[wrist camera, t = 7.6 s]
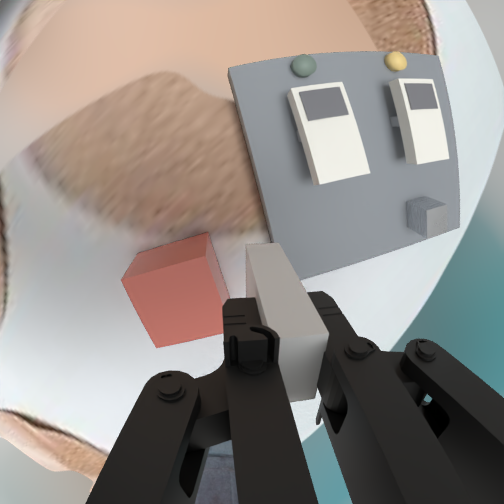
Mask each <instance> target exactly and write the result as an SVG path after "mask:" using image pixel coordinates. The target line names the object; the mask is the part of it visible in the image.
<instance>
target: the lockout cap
mask: <svg viewBox="0 0 504 504" xmlns="http://www.w3.org/2000/svg"><path fill="white" fill-rule="evenodd" d="M121 281H122V283H123V285H124V288H125V290H126V292H127V294H128V296H129V298H130V300H131V302H132V304H133V306H134V308H135V310H136V312H137V314H138V316H139V317H140V319H141V321H142V323H143V325H144V327H145V329H146V331H147V332H148V334H149V336H150V338H151V340H152V341H153V343H154V345H155V347H156V348H159V347H164V346H169V345H174V344H179V343H183V342H188V341H192V340H197V339H201V338H205V337H209V336H214V335H218V334H222V333H223V316H222V306H223V305H224V303H225V302H226V300H227V299H230V296H229V293H228V290H227V288H226V285H225V282H224V279H223V276H222V273H221V270H220V267H219V264H218V261H217V258H216V255H215V252H214V249H213V246H212V243H211V240H210V237H209V234H208V232H207V233H203V234H200V235H196V236H193V237H190V238H186V239H183V240H180V241H176V242H173V243H170V244H166V245H163V246H160V247H156V248H153V249H150V250H147V251H144V252H140V253H138V254H137V255H136V257H135V259H134V260H133V262H132V263H131V265H130V266H129V268H128V269H127V271H126V273H125V274H124V276H123V277H122V279H121Z"/></svg>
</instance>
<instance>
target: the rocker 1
mask: <svg viewBox="0 0 504 504" xmlns="http://www.w3.org/2000/svg"><path fill="white" fill-rule="evenodd" d="M287 97H288V100H289V103H290V106H291V109H292V112H293V115H294V119H295V122H296V125H297V128H298V132H299V135H300V138H301V142H302V145H303V148H304V152H305V155H306V159H307V163H308V166H309V170H310V173H311V177H312V181H313V185H314V186H315V185H320V184H325V183H329V182H333V181H337V180H342V179H346V178H351V177H355V176H360V175H364V174H369V173H370V169H369V166H368V162H367V158H366V154H365V151H364V147H363V143H362V140H361V137H360V133H359V130H358V127H357V123H356V120H355V117H354V114H353V111H352V108H351V105H350V102H349V99H348V96H347V94H346V91H345V88H344V85H343V83H342V82H334V83H325V84H316V85H309V86H302V87H295V88H291V89H290V91H289V93H288V95H287Z"/></svg>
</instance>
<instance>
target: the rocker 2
mask: <svg viewBox="0 0 504 504" xmlns="http://www.w3.org/2000/svg"><path fill="white" fill-rule="evenodd" d="M389 86H390V89H391V93H392V97H393V100H394V104H395V108H396V112H397V117H398V121H399V126H400V130H401V135H402V140H403V145H404V151H405V157H406V163H408V164H423V163H428V162H434V161H439V160H445V159H449V152H448V146H447V140H446V134H445V129H444V123H443V118H442V114H441V109H440V105H439V101H438V97H437V93H436V89H435V85H434V82H433V79H396V80H393V81H390V82H389Z"/></svg>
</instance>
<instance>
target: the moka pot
mask: <svg viewBox="0 0 504 504" xmlns="http://www.w3.org/2000/svg"><path fill="white" fill-rule="evenodd" d="M195 504H239V503H238V495H237V487H236V478H235V469H234V460H233V450H232V440H229V441H226V442H223V443H220V444H217V445H214V446H211V447H210V449H209V453H208V456H207V460H206V464H205V467H204V471H203V475H202V479H201V482H200V486H199V490H198V493H197V497H196V501H195Z"/></svg>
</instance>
